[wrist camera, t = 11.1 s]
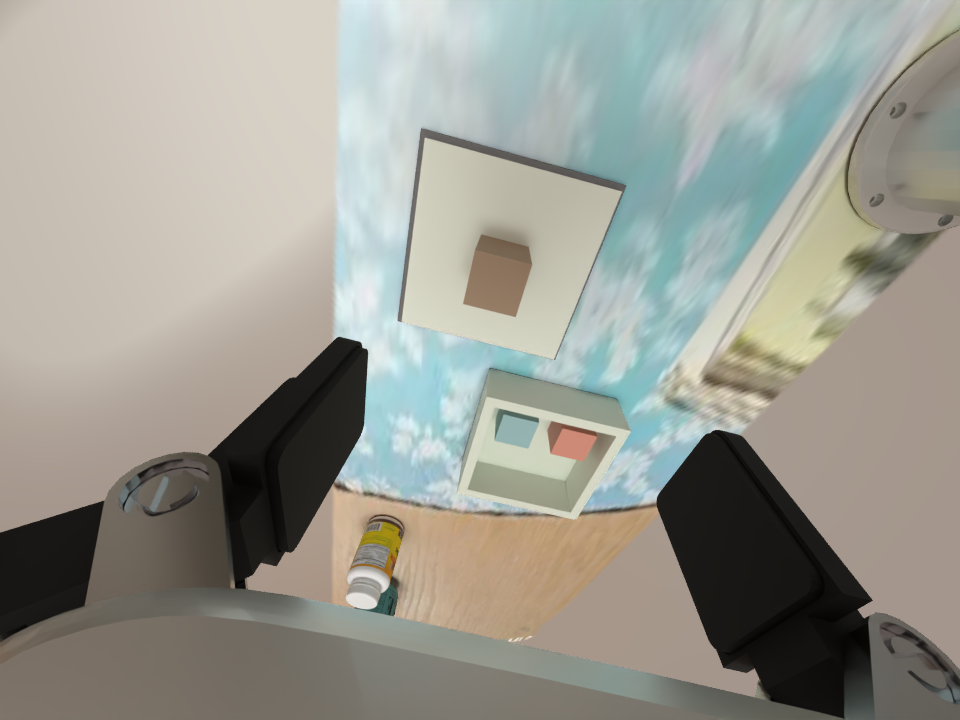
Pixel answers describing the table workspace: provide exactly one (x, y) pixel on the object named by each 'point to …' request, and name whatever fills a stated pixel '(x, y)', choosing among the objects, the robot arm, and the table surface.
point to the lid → (501, 248)
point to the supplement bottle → (374, 562)
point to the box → (539, 446)
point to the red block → (570, 441)
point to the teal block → (515, 428)
